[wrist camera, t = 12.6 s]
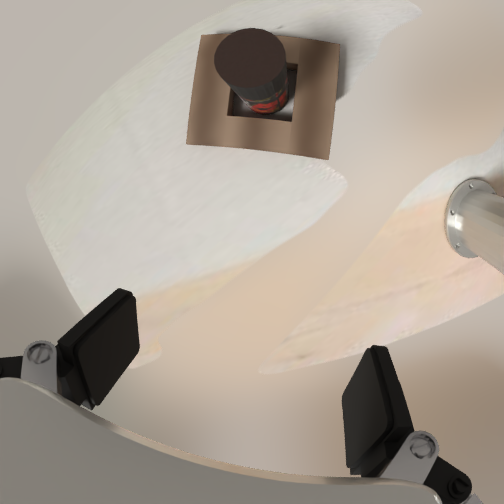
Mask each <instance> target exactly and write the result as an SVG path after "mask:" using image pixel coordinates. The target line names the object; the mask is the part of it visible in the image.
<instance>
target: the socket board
mask: <svg viewBox="0 0 504 504" xmlns="http://www.w3.org/2000/svg"><path fill="white" fill-rule="evenodd" d="M228 35H230V34H211V35H201V40H200V45H199V51H198V57H197V63H196V69H195V75H194V82H193V89H192V97H191V104H190V112H189V121H188V130H187V140H186V144H189V145H205V146H220V147H233V148H243V149H253V150H262V151H270V152H278V153H286V154H293V155H299V156H306V157H312V158H318V159H324V160H328V159H329V153H330V145H331V137H332V129H333V120H334V111H335V102H336V91H337V80H338V67H339V52H340V44H335V43H330V42H324V41H318V40H312V39H304V38H296V37H287V36H276V35H275V36H276V37H277V38H278V39H279V40H280V41H281V43H282V44H283V46H284V49H285V52H286V64H287V69H289V70H297V80H296V89H295V98H294V107H293V115H292V122H287V121H280V120H271V119H261V118H250V117H237V116H232V114H233V106H234V98H235V92H234V91H233V90H232V89H231V87H230V86H229V85H228V84H227V83H226V82H225V81H224V80H223V79H222V78H221V77H220V76H219V74H218V73H217V71H216V68H215V65H214V55H215V52H216V49H217V47H218V46H219V44H220V43H221V41H222V40H223V39H225V38H226V37H227V36H228Z"/></svg>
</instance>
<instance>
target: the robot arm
mask: <svg viewBox="0 0 504 504" xmlns="http://www.w3.org/2000/svg"><path fill="white" fill-rule="evenodd" d="M445 232H446V236H447V239H448V242H449V244H450V246H451V247H452V248H453V250H454V251H455V252H457V253H458V254H459V255H461V256H463V257H466V258H475V257H478V256H479V257H480V258H482V259H483V260H485V261H486V262H487V263H489V264H490V265H492V266H493V267H494V268H496V269H497V270H498V271H500V272H501V273H502V274H504V197H501V196H498V195H497V194H496V192H495V191H494V189H493V188H492V187H491V186H490V185H489V184H488V183H486V182H485V181H482V180H477V179H471V180H467V181H465V182H463V183H462V184H460V185H459V186H458V187H457V188H456V189H455V191H454V192H453V194H452V195H451V197H450V199H449V202H448V204H447V208H446V212H445ZM139 348H140V344H139V334H138V323H137V311H136V298H135V297H134V296H133V294H132V292H130V291H127V290H124V289H121V288H118V289H117V290H115V291H114V292H113V293H112V294H111V295H110V296H108V297H107V298H106V299H105V300H104V301H102V302H101V303H100V304H99V305H98V306H97V307H95V308H94V309H93V310H92V311H91V312H90V313H88V314H87V315H86V316H85V317H84V318H83V319H82V320H80V321H79V322H78V323H77V324H76V325H75V326H74V327H73V328H71V329H70V330H69V331H68V332H67V333H66V334H65V335H64V336H63V337H61V338H60V339H59V340H58V344H57V345H56V346H54V345H53V344H52V343H51V342H48V341H35V342H33V343H31V344H30V345H28V347H27V348H26V349H25V351H24V354H23V356H16V357H6V358H0V504H483V503H482V501H481V500H480V499H479V498H478V496H477V495H476V494H475V493H474V494H473V495H471V490H472V484H471V480H470V479H469V477H468V476H466V474H464V473H463V472H461V471H459V470H458V469H456V468H455V467H454V466H452V465H451V464H449V463H448V462H446V461H445V460H443V459H442V458H440V457H439V456H438V452H439V445H438V442H437V440H436V439H435V437H433V436H432V435H431V434H430V433H428V432H425V431H415V432H414V428H413V424H412V421H411V417H410V414H409V410H408V407H407V404H406V400H405V397H404V394H403V391H402V388H401V384H400V382H399V380H398V377H397V374H396V371H395V368H394V365H393V363H392V360H391V357H390V354H389V352H388V349H387V347H385V346H377V345H372V346H371V348H367V349H366V351H365V353H364V355H363V357H362V359H361V361H360V363H359V365H358V367H357V369H356V371H355V372H354V374H353V376H352V378H351V380H350V382H349V384H348V385H347V387H346V389H345V391H344V393H343V395H342V409H343V420H344V432H345V449H346V465H347V467H348V468H350V474H351V475H361V477H356V478H355V477H322V476H308V475H296V474H287V473H279V472H272V471H265V470H259V469H253V468H248V467H243V466H238V465H233V464H229V463H224V462H220V461H216V460H212V459H208V458H205V457H201V456H198V455H194V454H191V453H188V452H185V451H182V450H178V449H175V448H172V447H169V446H167V445H164V444H161V443H158V442H156V441H153V440H151V439H148V438H145V437H143V436H140V435H138V434H136V433H133V432H131V431H129V430H126V429H124V428H122V427H120V426H118V425H116V424H113V423H111V422H109V421H107V420H105V419H103V418H101V417H99V416H97V415H95V414H93V413H91V412H89V411H87V410H86V409H84V408H82V407H80V405H83V406H85V407H87V408H88V409H90V410H93V408H94V407H95V405H97V406H98V405H100V404H101V402H102V401H103V400H104V398H105V397H106V395H107V394H108V393H109V391H110V390H111V389H112V387H113V386H114V384H115V383H116V382H117V380H118V379H119V378H120V376H121V375H122V374H123V372H124V371H125V370H126V368H127V367H128V366H129V364H130V363H131V362H132V360H133V359H134V358H135V356H136V355H137V354H138V352H139Z"/></svg>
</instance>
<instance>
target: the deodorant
mask: <svg viewBox="0 0 504 504" xmlns="http://www.w3.org/2000/svg"><path fill="white" fill-rule="evenodd" d="M214 65H215V68H216V71H217V73H218V74H219V76H220V77H221V78H222V79H223V80H224V81H225V82H226V83H227V84H228V85H229V86H230V87H231V89H232V90H233V91H234V92H235V93H236V94H237V95H238V96H239V97H240V98H241V99H242V100H243V101H244V103H245V104H246V105H247V106H248V107H249V108H250V109H251V110H252V111H254V112H256V113H258V114H262V115H270V114H274V113H276V112H278V111H280V110H281V109H282V108H283V107H284V106H285V105H286V103H287V101H288V97H289V92H288V77H287V64H286V52H285V49H284V46H283V44H282V43H281V41H280V40H279V39H278V38H277V37H276V36H275V35H273V34H272V33H270V32H268V31H265V30H263V29H256V28H248V29H242V30H238V31H235V32H233V33H232V34H230V35H228V36H227V37H226V38H225V39H223V40H222V41H221V43H220V44H219V46H218V47H217V49H216V52H215V55H214Z"/></svg>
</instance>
